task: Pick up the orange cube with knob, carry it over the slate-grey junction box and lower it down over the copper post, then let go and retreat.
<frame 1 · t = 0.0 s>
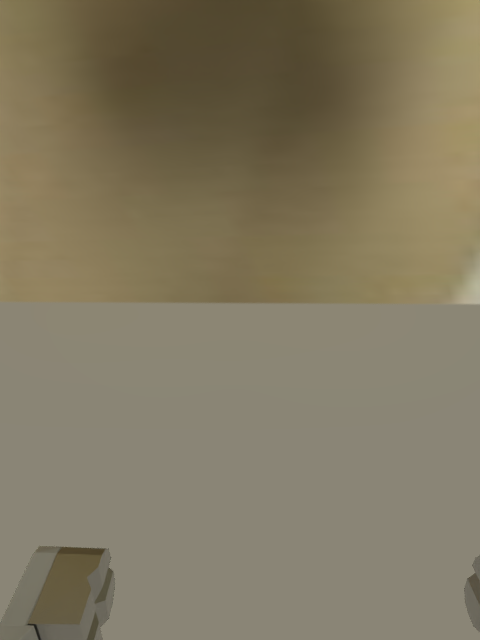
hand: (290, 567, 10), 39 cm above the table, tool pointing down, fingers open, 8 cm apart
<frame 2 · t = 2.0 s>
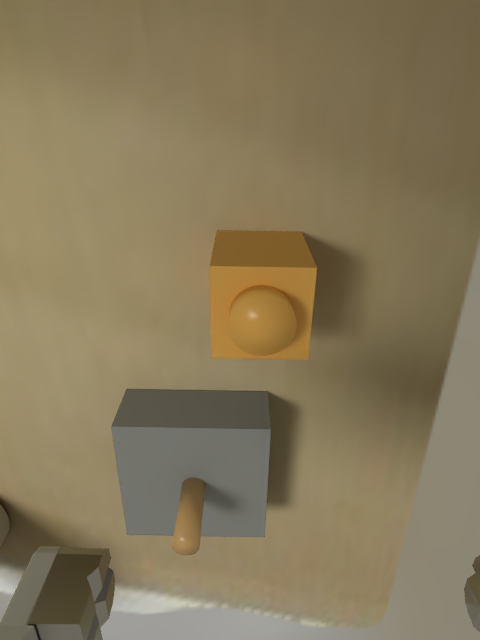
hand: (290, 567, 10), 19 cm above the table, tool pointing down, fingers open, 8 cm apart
junction box: (199, 444, 34), on the table
orange cube with knob: (257, 271, 27), on the table
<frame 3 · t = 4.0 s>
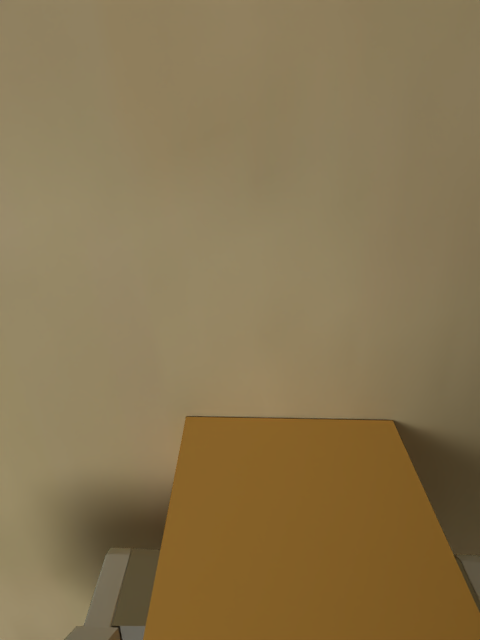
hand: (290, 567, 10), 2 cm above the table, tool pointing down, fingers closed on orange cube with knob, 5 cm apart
orange cube with knob: (283, 493, 12), on the table, touching gripper
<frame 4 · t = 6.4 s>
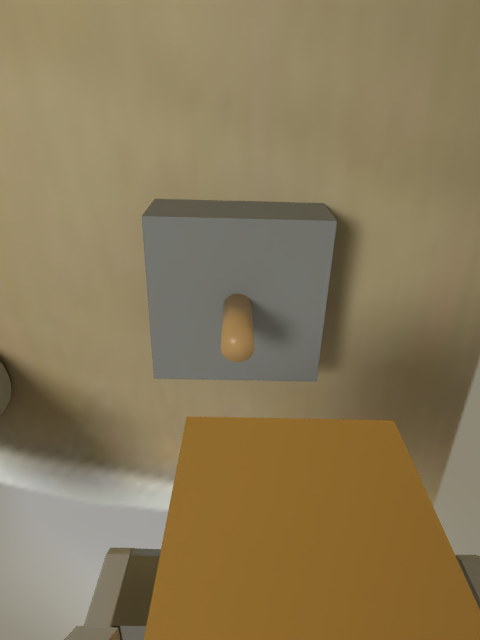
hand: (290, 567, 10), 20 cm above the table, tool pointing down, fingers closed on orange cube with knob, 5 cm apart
junction box: (237, 279, 29), on the table
orange cube with knob: (284, 493, 12), point 18 cm above the table, touching gripper
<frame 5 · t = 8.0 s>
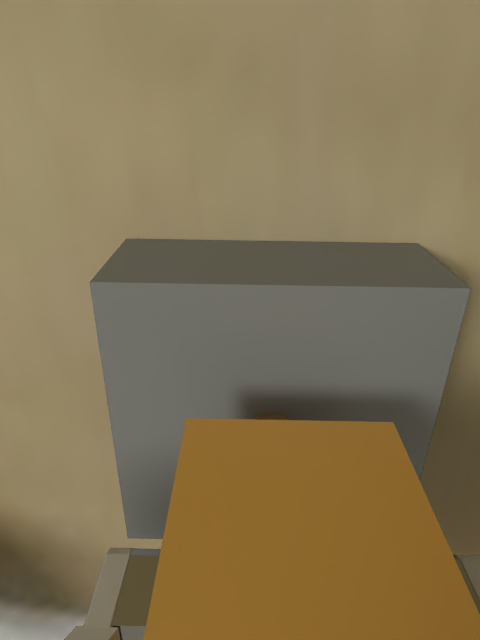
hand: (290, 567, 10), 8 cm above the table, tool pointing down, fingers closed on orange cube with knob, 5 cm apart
junction box: (266, 364, 17), on the table
orange cube with knob: (283, 494, 12), point 6 cm above the table, touching gripper
when the fingers open (8 cm above the table, at t = 8.9 s): orange cube with knob drops 1 cm, resting on junction box.
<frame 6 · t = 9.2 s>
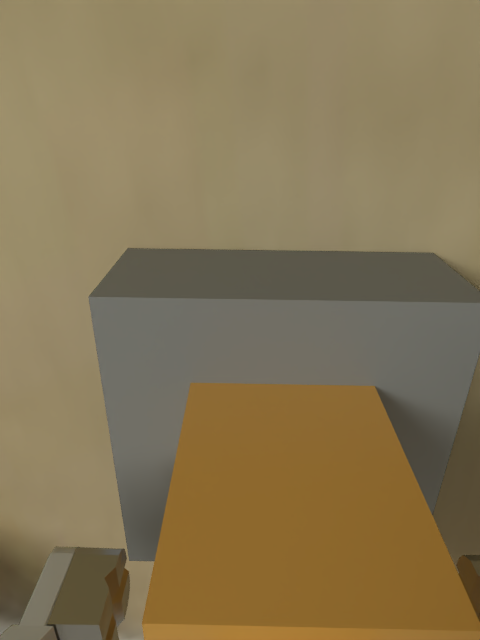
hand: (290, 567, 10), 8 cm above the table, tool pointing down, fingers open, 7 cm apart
junction box: (273, 378, 17), on the table
orange cube with knob: (278, 454, 13), point 4 cm above the table, touching junction box
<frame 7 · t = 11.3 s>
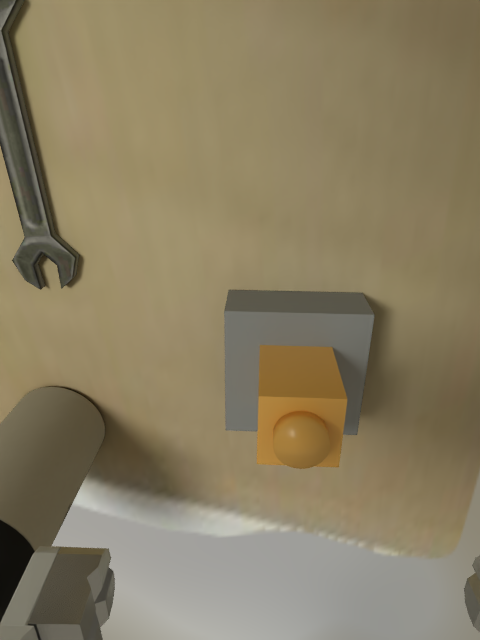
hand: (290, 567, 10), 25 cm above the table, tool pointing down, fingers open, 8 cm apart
junction box: (291, 349, 35), on the table
orange cube with knob: (293, 376, 32), point 4 cm above the table, touching junction box
wrench: (24, 145, 30), on the table
travel mug: (63, 420, 40), on the table
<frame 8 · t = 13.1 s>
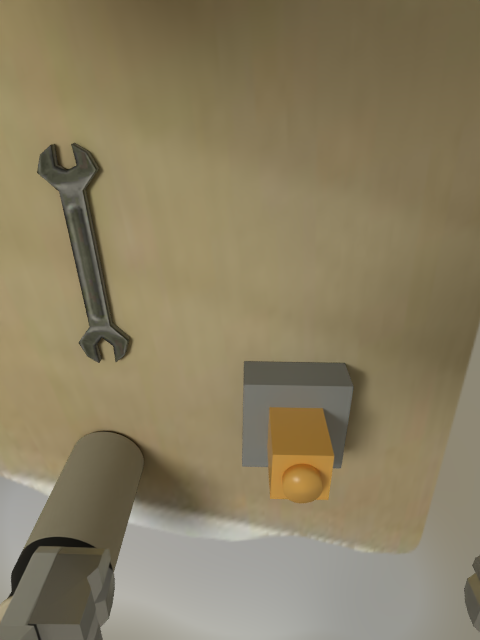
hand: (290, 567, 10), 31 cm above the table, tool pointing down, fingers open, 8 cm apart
junction box: (291, 403, 46), on the table
orange cube with knob: (294, 428, 43), point 4 cm above the table, touching junction box
wrench: (91, 261, 40), on the table
travel mug: (109, 455, 50), on the table
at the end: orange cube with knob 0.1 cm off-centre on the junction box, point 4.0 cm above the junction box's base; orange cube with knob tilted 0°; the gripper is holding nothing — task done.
